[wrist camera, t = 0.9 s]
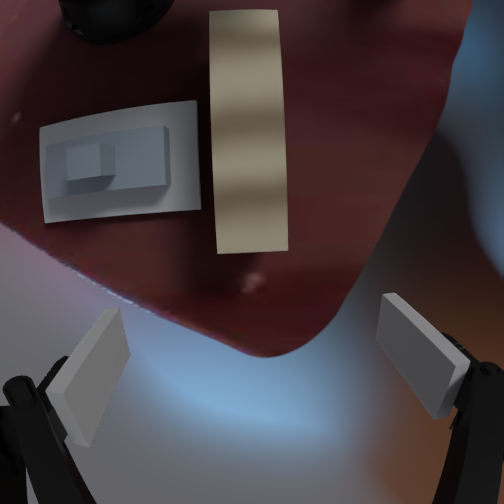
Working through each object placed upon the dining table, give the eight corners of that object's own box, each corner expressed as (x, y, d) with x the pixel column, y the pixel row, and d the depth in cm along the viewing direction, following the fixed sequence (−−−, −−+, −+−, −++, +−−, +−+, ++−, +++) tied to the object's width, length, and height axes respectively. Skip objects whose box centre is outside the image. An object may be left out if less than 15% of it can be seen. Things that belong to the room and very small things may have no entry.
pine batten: (212, 36, 27) (209, 11, 21) (269, 35, 27) (277, 10, 22) (220, 239, 33) (217, 254, 27) (278, 236, 33) (287, 250, 27)
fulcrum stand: (44, 128, 31) (6, 122, 23) (197, 102, 32) (187, 82, 24) (49, 221, 34) (12, 234, 26) (201, 208, 35) (192, 218, 27)
